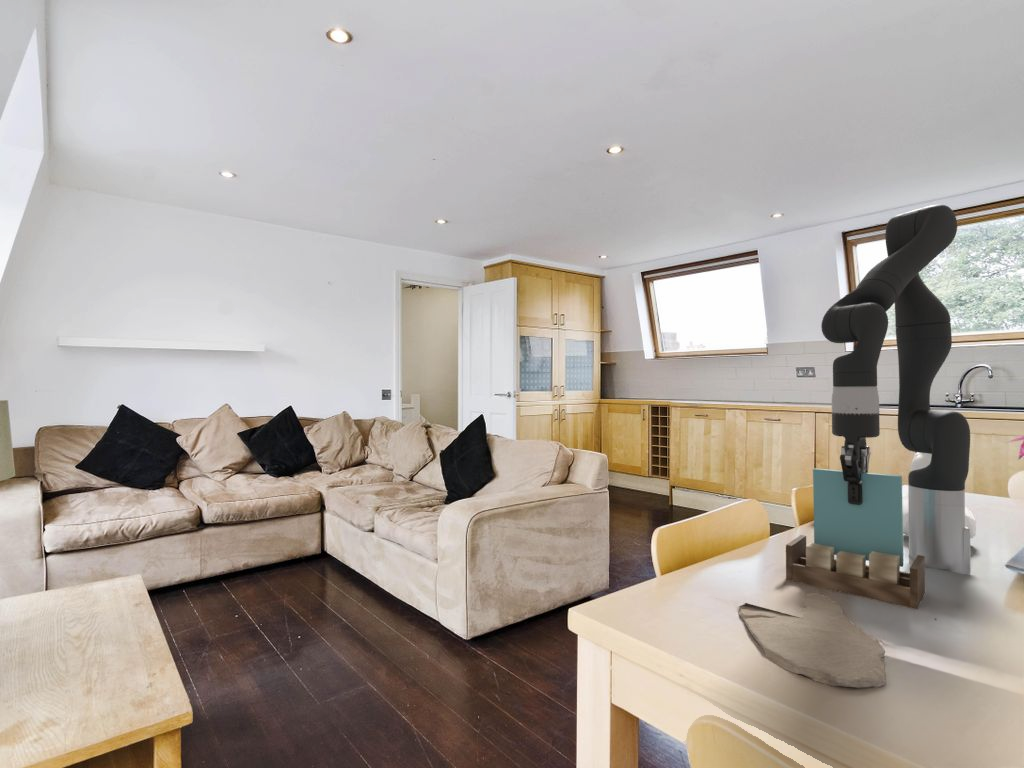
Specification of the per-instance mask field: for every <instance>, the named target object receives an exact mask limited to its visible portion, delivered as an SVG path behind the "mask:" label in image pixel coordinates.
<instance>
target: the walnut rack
mask: <svg viewBox="0 0 1024 768" xmlns="http://www.w3.org/2000/svg"><path fill="white" fill-rule="evenodd" d="M806 546H807V536H806V535H803V534H800V535H799V536H797V537H796V538H794V539H792V540H791V541H789V542H788V543H786V544H785V580H786V581H789V582H793V583H798V584H802V585H803V584H804V585H807V586H812V587H816V588H820V589H825V590H830V591H834V592H838V593H843V594H846V595H852V596H855V597H860V598H863V599H864V598H865V599H869V600H873V601H877V602H881V603H886V604H891V605H894V606H900V607H904V608H907V609H911V610H912V609H913V610H919V607H920V606H921V604H922V601H923V599H924V597H925V595H926V567H925V556H921V555H917V557H916V559H915V560H914V562H913V564H910V565H911V566H910V567H909V572H906V571H901V570H900V585H896V584H891V583H887V582H882V581H877V580H872V579H869V564H866V578H862V577H857V576H853V575H848V574H843V573H838V572H836V558H834V572H833V571H828V570H824V569H819V568H814V567H809V566H806Z"/></svg>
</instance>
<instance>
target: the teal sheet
mask: <svg viewBox="0 0 1024 768" xmlns="http://www.w3.org/2000/svg"><path fill="white" fill-rule="evenodd" d="M850 475H854V476H855V474H854V473H850ZM812 476H813V477H812V479H813V480H812V483H813V484H812V486H813V487H812V488H813V543H814V544H820V545H825V546H831V547H834V556H836V554H837V553H839V552H840V551H844V552H849V553H855V554H860V555H866V562H869V554H870V553H871V552H872V551H875V552H880V553H886V554H892V555H897V556H900V568H901V567H904V534H903V510H902V497H903V476H902V475H896V474H887V473H886V474H885V473H884V474H883V473H875V472H874V473H873V472H868V473H863V484H862V504H861V505H854V504H849V503H848V483H846V481H844V479H843V472H842V470H839V469H838V470H837V469H826V468H825V469H824V468H813V469H812Z"/></svg>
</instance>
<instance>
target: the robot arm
mask: <svg viewBox="0 0 1024 768" xmlns="http://www.w3.org/2000/svg"><path fill="white" fill-rule="evenodd" d="M957 231H958V221H957V217H956V215H955V212H954V210H952V208H951V207H949V206H948V205H945V204H940V203H939V204H932V205H928V206H924V207H921V208H917V209H913V210H910V211H907V212H903V213H900V214H897V215H894V216H892V217H891V218H890V219H889V220H888V222H887V224H886V226H885V233H884V235H885V236H884V237H885V238H884V239H885V247H886V252H887V257H886V258H884V259H883V260H881V261H880V262H878V263H876V265H875V266H874V267H872V268H871V269H870V270H868V272H867V273H866V274H865V275H864V277H863V278H862V280H860V282H859V283H858V285H857V286H856V287H855V289H853V290H852V291H851V292H849V293H847V294H846V295H844V296H843V297H842V298H840V299H839V300H837V302H835V303H833V304H832V305H831V306H830V307H829V308H828V309H827V311H826V312H825V313H824V316H823V317H822V320H821V325H820V326H821V327H820V328H821V332H822V335H823V336H824V338H825V340H827V341H829V342H831V343H834V344H848V343H856V345H855V346H854V348H853V350H852V351H850V352H849V353H847V354H844V355H840V356H837V357H835V359H834V360H833V361H832V362H833V363H832V394H831V433H832V435H833V436H834V437H835V436H836V437H843V438H844V445H841V449H840V452H841V453H840V456H839V460H840V464H841V471H842V472H843V479H844V481H846V483H848V503H849V504H854V505H861V504H862V484H863V473H869V467H870V465H869V464H870V457H871V456H870V455H871V447H870V446H868V445H867V439H870V438H871V439H872V438H878V437H879V436H880V434H881V432H880V397H879V391H878V362H879V359H880V356H881V351H882V348H883V344H884V341H885V339H886V336H887V332H888V328H889V317H888V314H887V312H888V310H890V308H892V306H893V305H894V316H895V319H894V320H895V322H894V323H895V327H894V328H895V336H896V337H895V338H896V347H897V349H896V350H897V359H898V407H897V432H898V437H899V440H900V443H901V445H902V446H903V447H904V448H905V449H906V450H908V451H909V452H913V453H914V452H915V453H918V452H919V453H928V454H932V456H931V462H930V464H929V465H928V466H927V467H925V468H922V469H918V470H913V471H911V472H910V471H909V472H908V475H907V476H908V480H907V481H908V485H907V487H908V490H907V491H908V498H909V536H908V565H912V564H913V562H914V560H915V559H916V557H917V555H921V556H925V568H929V569H934V570H935V569H936V570H939V571H941V570H942V571H946V572H951V573H952V572H953V573H957V574H963V575H968V576H971V573H972V572H971V568H972V567H971V566H972V565H971V538H970V529H969V528H967V527H965V506H966V498H965V497H966V495H965V494H966V493H965V491H966V490H965V489H966V480H967V478H968V475H969V469H970V454H971V453H970V450H971V427H970V425H969V421H968V420H967V418H966V416H964V414H962V413H961V412H959V411H954V410H944V409H943V410H939V409H936V410H935V409H931V403H930V402H931V401H930V400H931V397H930V395H931V387H932V384H933V382H934V379H935V377H936V376H937V375H938V373H939V371H940V369H941V368H942V366H943V365H944V363H945V361H946V359H947V358H948V356H949V354H950V352H951V349H952V344H953V340H952V339H953V337H952V326H951V325H952V324H951V321H952V320H951V315H950V312H949V311H948V309H947V307H946V306H945V305H944V303H943V302H942V301H941V300H940V299H939V298H938V297H937V296H936V295H935V294H934V293H933V291H932V290H930V288H928V286H927V285H926V284H925V282H924V281H923V279H922V277H921V276H920V272H921V271H922V270H923V269H924V268H926V266H927V265H929V264H930V263H931V262H933V260H935V259H936V258H937V257H938V256H939V255H941V253H942V252H943V251H945V250H946V249H947V248H948V247H949V246H950V245H951V244H952V243H953V241H954V240H955V238H956V235H957ZM850 473H854V474H855V476H854V475H850Z"/></svg>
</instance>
